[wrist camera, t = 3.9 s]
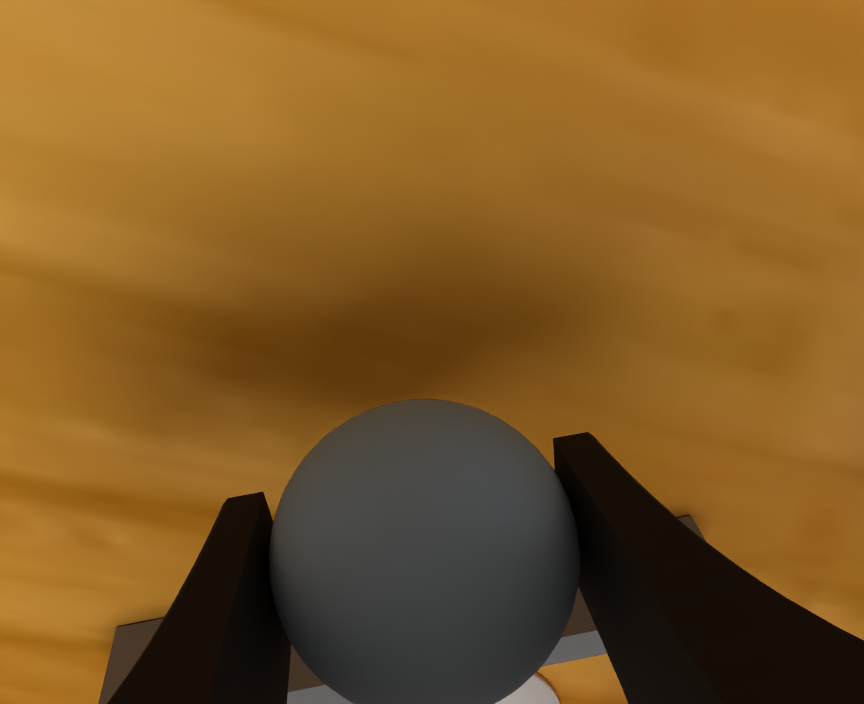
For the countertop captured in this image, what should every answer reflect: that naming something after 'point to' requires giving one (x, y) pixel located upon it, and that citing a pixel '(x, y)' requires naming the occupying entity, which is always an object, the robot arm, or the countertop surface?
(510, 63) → the countertop surface
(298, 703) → the grey square frame
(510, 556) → the ball
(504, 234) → the countertop surface
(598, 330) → the countertop surface
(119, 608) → the countertop surface
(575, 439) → the robot arm
